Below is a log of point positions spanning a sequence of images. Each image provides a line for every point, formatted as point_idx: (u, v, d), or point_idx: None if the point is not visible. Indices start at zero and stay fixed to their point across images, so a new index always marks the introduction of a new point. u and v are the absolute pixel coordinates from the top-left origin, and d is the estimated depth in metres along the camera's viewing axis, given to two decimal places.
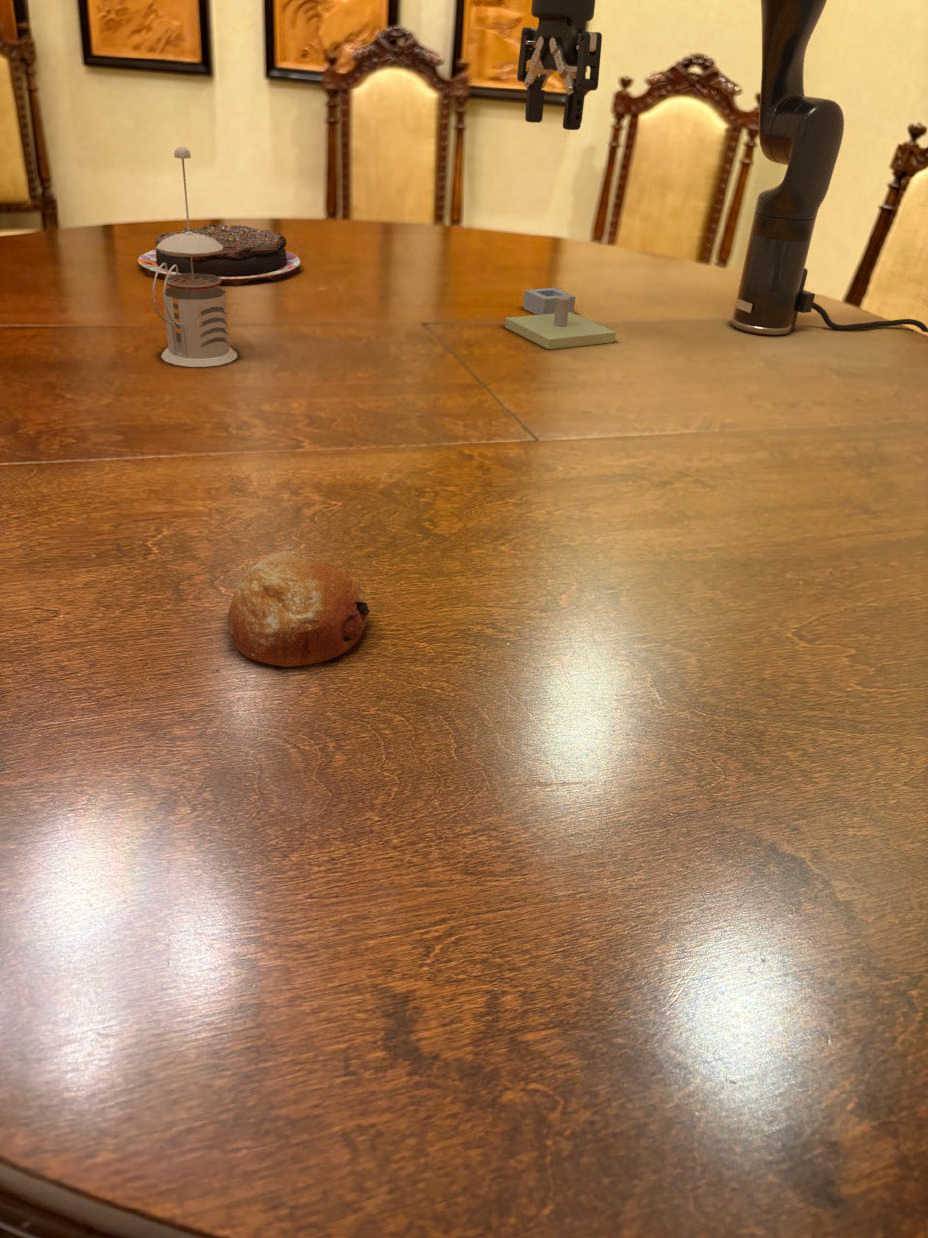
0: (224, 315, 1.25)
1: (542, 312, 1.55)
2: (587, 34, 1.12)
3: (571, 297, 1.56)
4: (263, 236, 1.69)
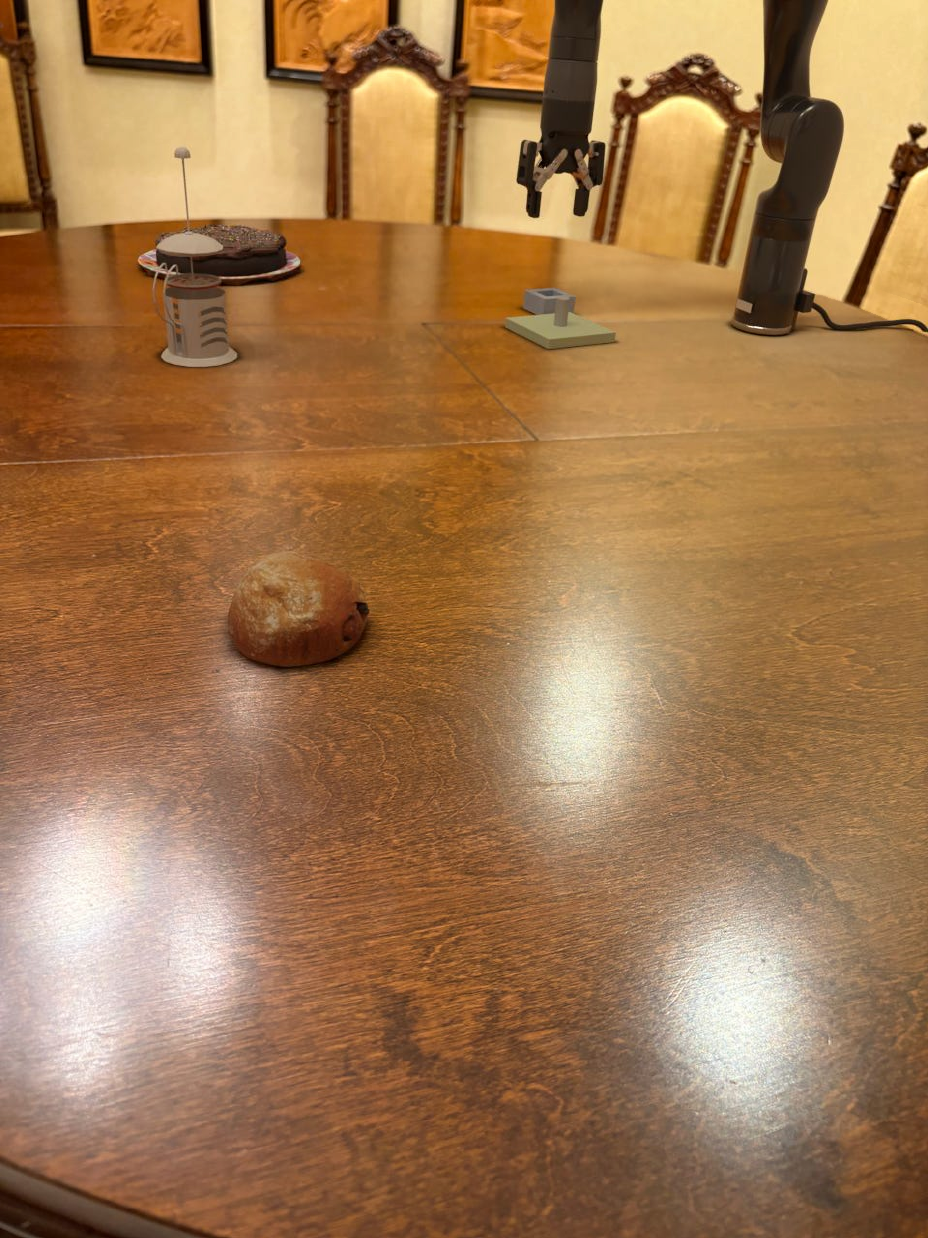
0: (224, 315, 1.25)
1: (542, 312, 1.55)
2: (523, 142, 1.40)
3: (571, 297, 1.56)
4: (263, 236, 1.69)
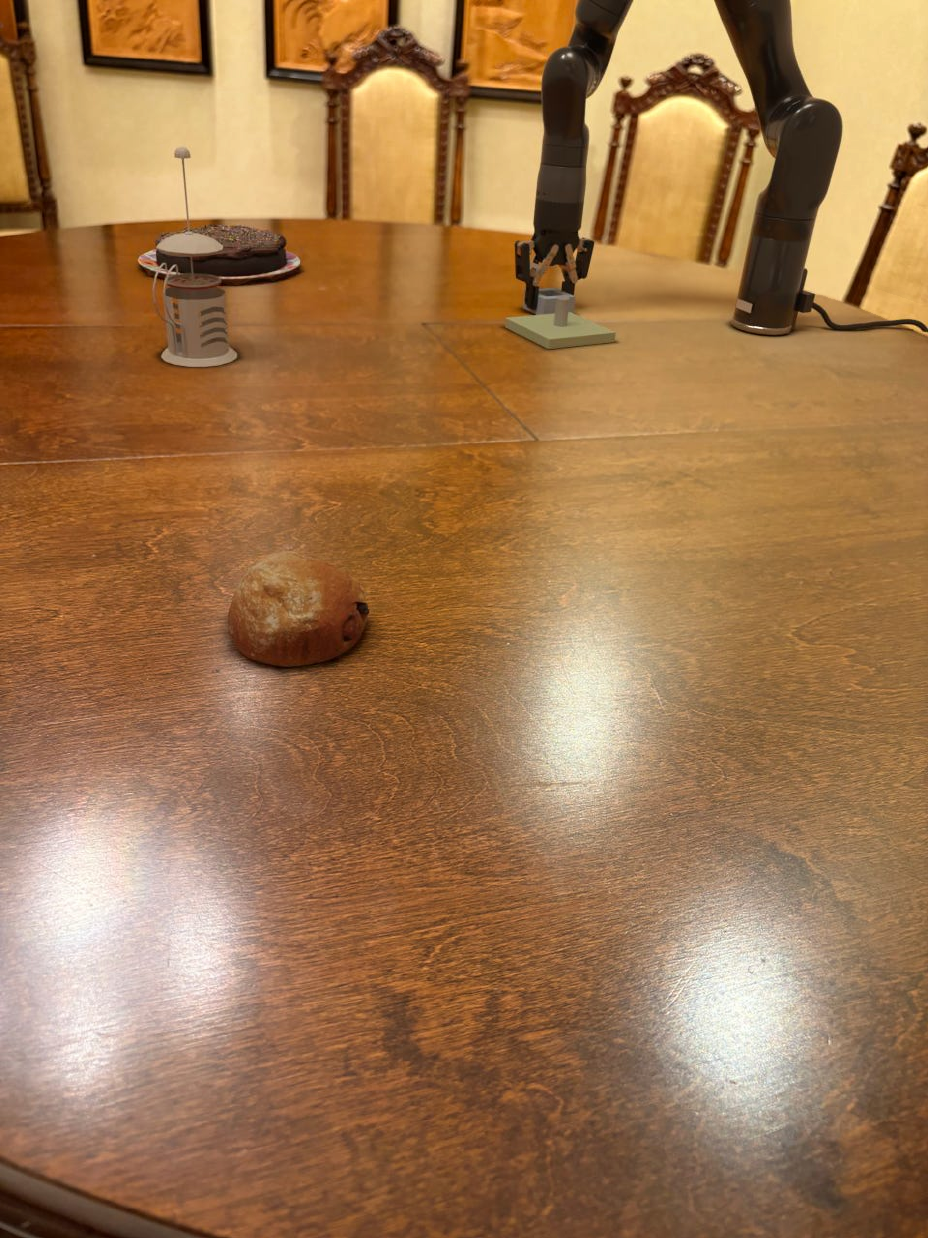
0: (224, 315, 1.25)
1: (542, 312, 1.55)
2: (516, 243, 1.51)
3: (571, 297, 1.56)
4: (263, 236, 1.69)
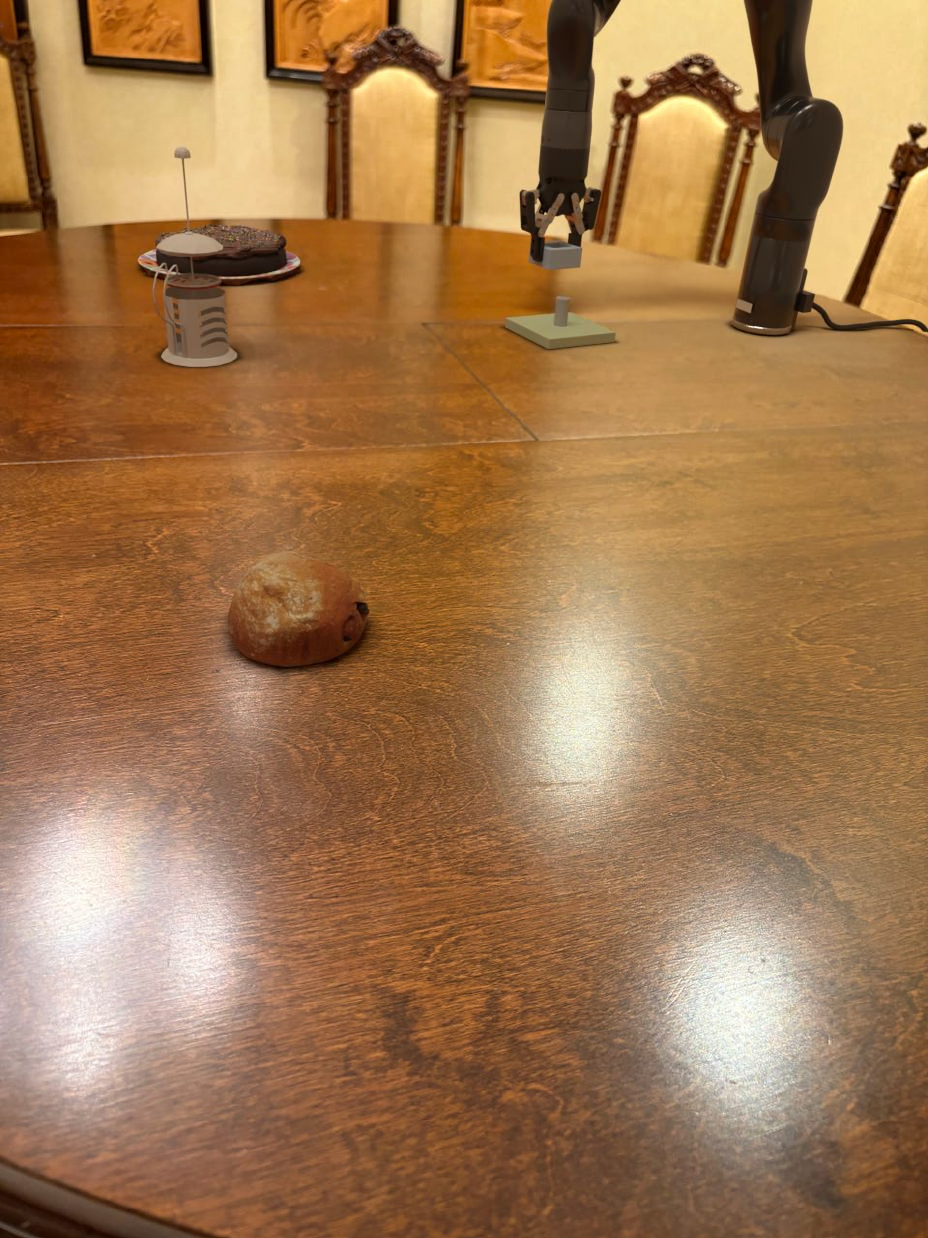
0: (224, 315, 1.25)
1: (548, 264, 1.51)
2: (521, 192, 1.47)
3: (578, 249, 1.52)
4: (263, 236, 1.69)
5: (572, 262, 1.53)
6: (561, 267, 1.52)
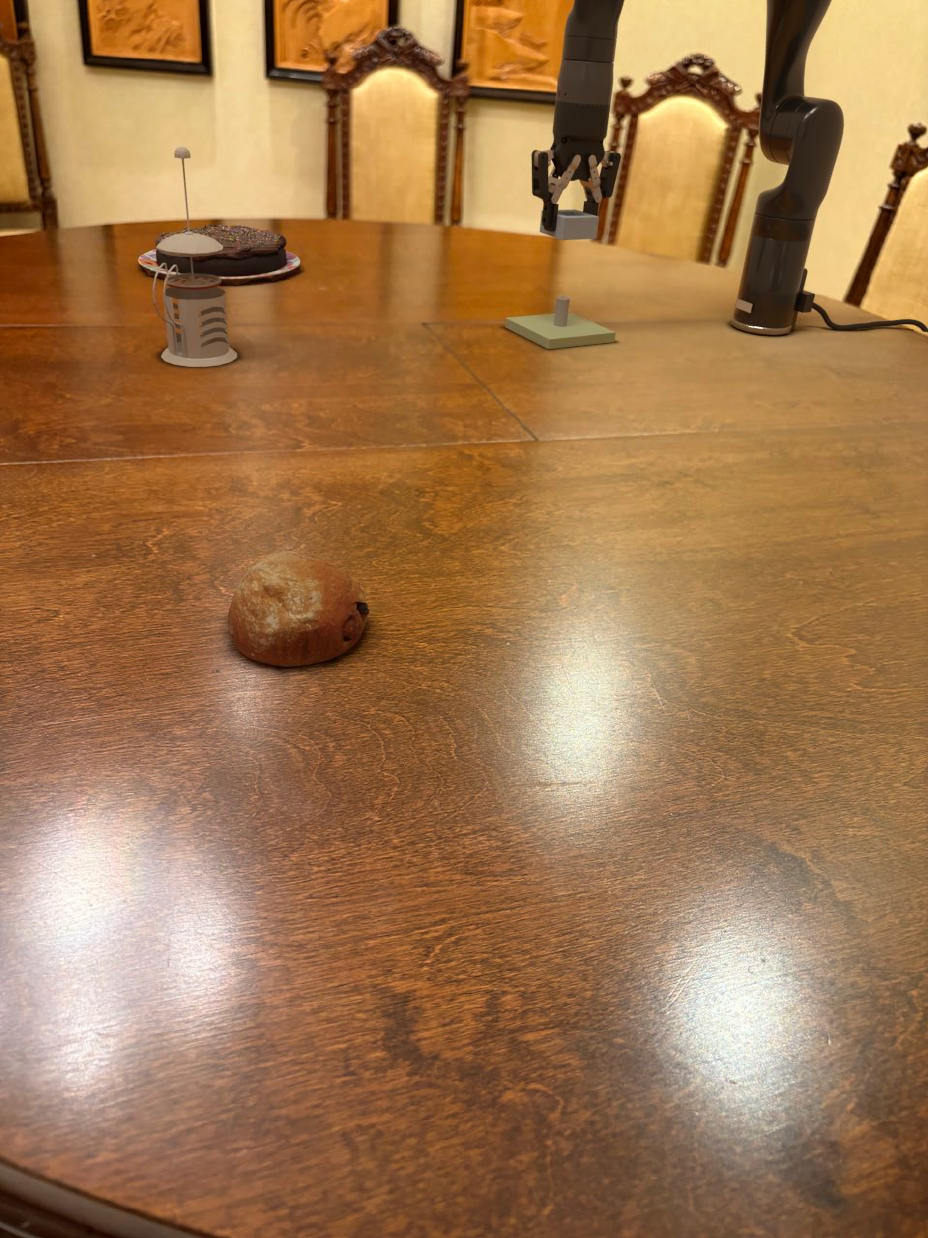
0: (224, 315, 1.25)
1: (561, 233, 1.37)
2: (533, 153, 1.33)
3: (594, 217, 1.38)
4: (263, 236, 1.69)
5: (588, 232, 1.39)
6: (575, 237, 1.38)
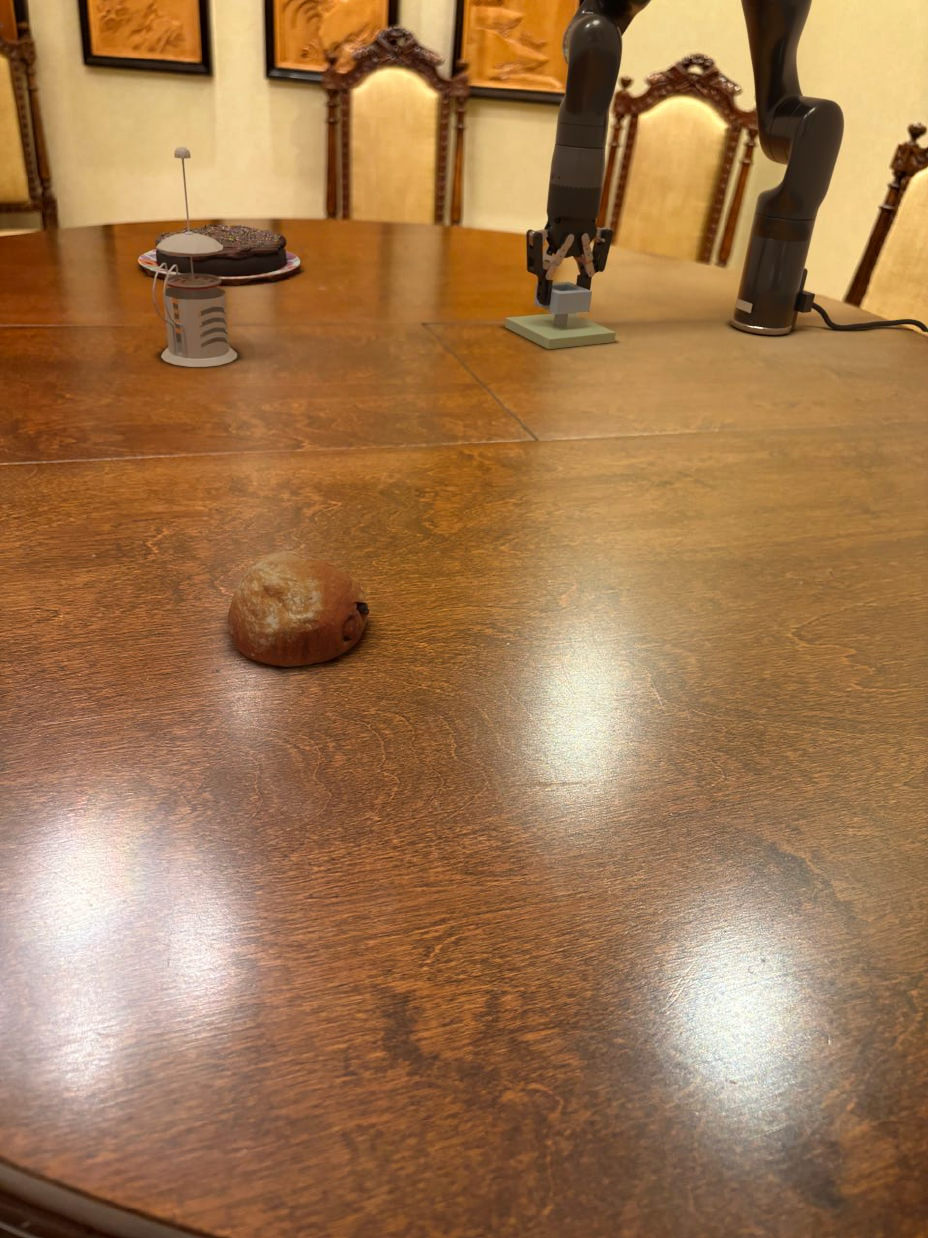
0: (224, 315, 1.25)
1: (556, 308, 1.41)
2: (528, 232, 1.37)
3: (587, 292, 1.42)
4: (263, 236, 1.69)
5: (581, 306, 1.43)
6: (569, 311, 1.42)
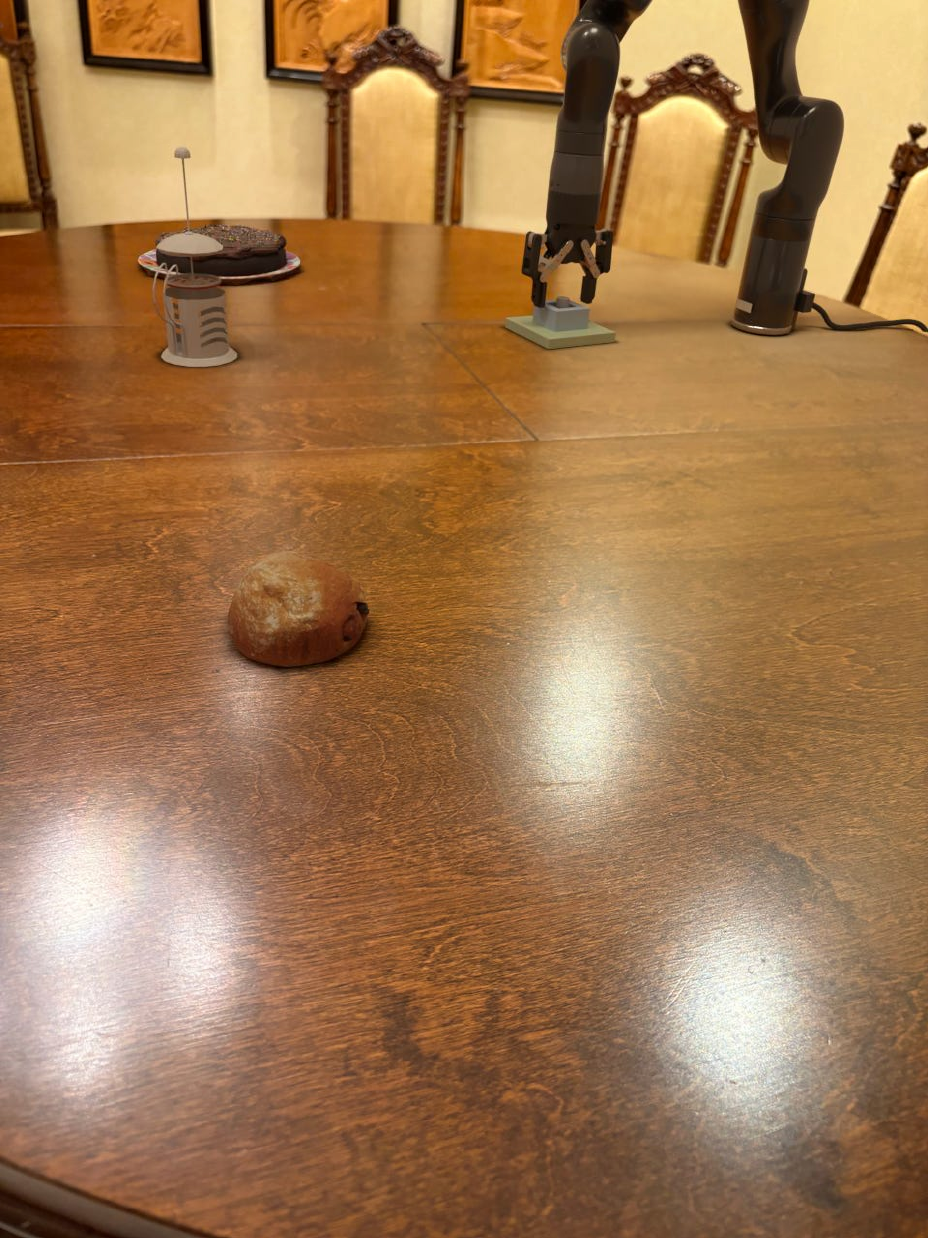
0: (224, 315, 1.25)
1: (554, 326, 1.43)
2: (528, 234, 1.37)
3: (585, 309, 1.44)
4: (263, 236, 1.69)
5: (579, 323, 1.44)
6: (567, 328, 1.44)
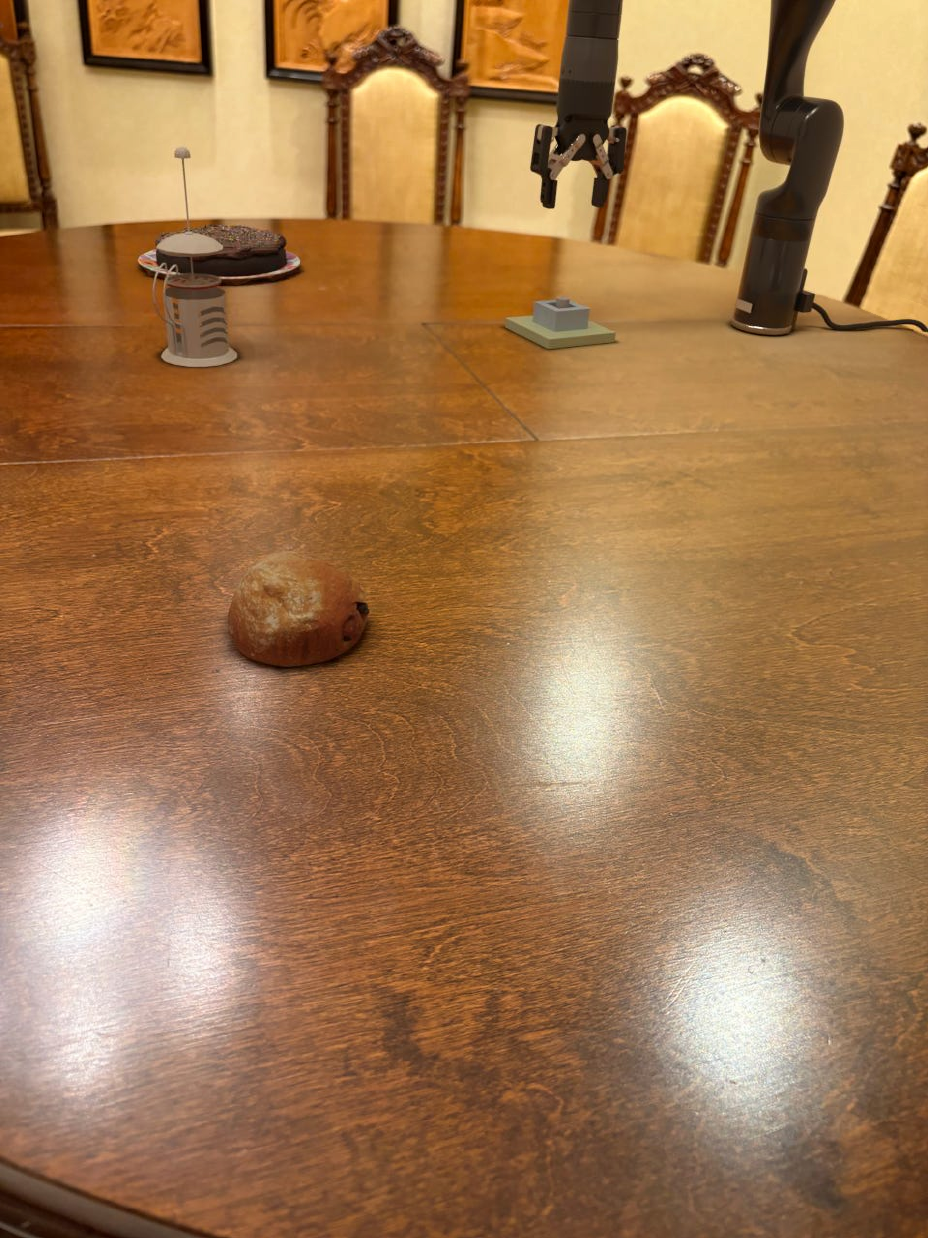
0: (224, 315, 1.25)
1: (554, 326, 1.43)
2: (537, 126, 1.30)
3: (585, 309, 1.44)
4: (263, 236, 1.69)
5: (579, 323, 1.44)
6: (567, 328, 1.44)
